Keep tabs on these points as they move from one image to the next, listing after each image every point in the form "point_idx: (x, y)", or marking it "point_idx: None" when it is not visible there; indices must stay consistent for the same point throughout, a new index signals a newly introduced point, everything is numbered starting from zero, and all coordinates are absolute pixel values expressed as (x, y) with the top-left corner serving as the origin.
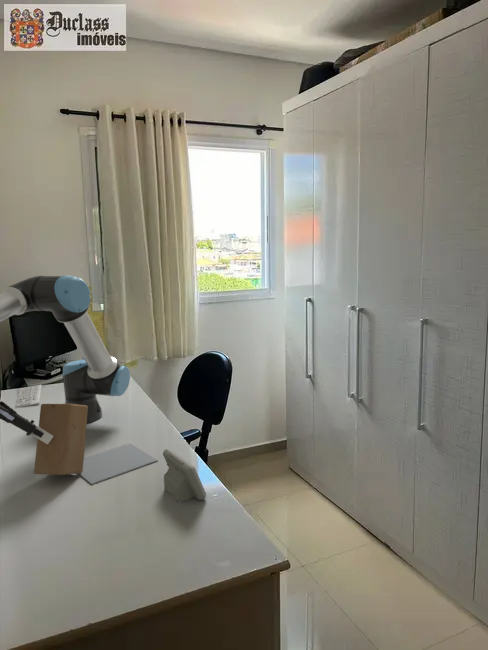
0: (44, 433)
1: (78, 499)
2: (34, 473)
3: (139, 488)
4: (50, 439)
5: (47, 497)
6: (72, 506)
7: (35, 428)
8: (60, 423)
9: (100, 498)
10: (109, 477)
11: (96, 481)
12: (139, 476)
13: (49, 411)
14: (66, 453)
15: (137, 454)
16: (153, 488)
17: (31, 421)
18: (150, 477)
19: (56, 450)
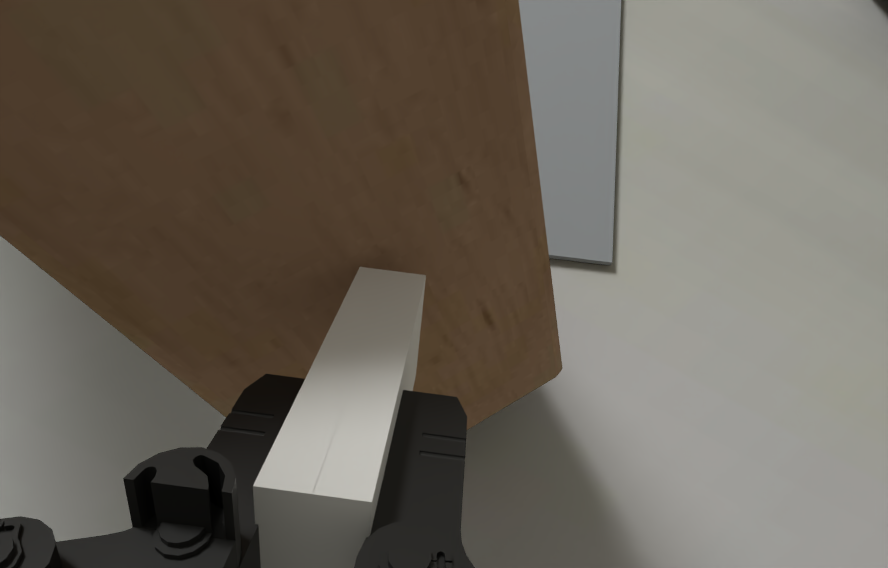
0: (408, 373)
1: (717, 403)
2: None
3: (827, 133)
4: (419, 325)
5: (555, 520)
6: (772, 470)
7: (461, 554)
8: (410, 96)
9: (792, 315)
10: (614, 162)
11: (608, 231)
12: (706, 63)
13: (82, 12)
14: (550, 282)
15: None
16: (873, 93)
17: (169, 513)
18: (756, 39)
19: (461, 323)
